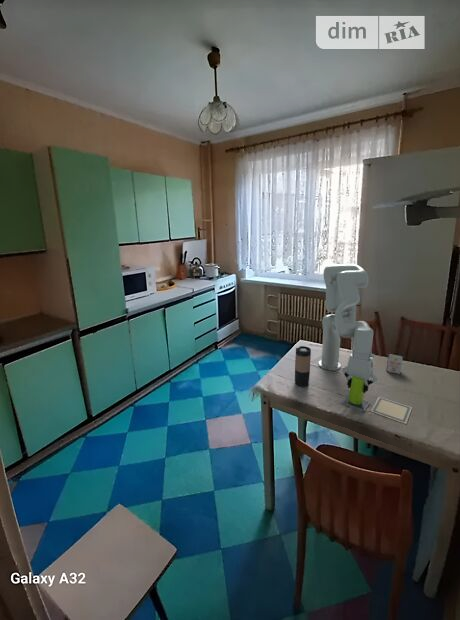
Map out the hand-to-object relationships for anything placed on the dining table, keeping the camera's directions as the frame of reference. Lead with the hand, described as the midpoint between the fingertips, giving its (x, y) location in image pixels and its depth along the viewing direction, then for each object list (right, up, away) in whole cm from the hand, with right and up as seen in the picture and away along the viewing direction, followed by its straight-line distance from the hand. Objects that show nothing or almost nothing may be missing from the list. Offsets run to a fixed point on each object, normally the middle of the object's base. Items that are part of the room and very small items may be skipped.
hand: (357, 389), depth 133 cm
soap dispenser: (0, -6, +2) cm, 7 cm away
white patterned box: (+33, +2, +29) cm, 44 cm away
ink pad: (0, -7, +2) cm, 8 cm away
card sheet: (+14, -9, -3) cm, 17 cm away
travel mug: (-21, -3, +20) cm, 29 cm away
